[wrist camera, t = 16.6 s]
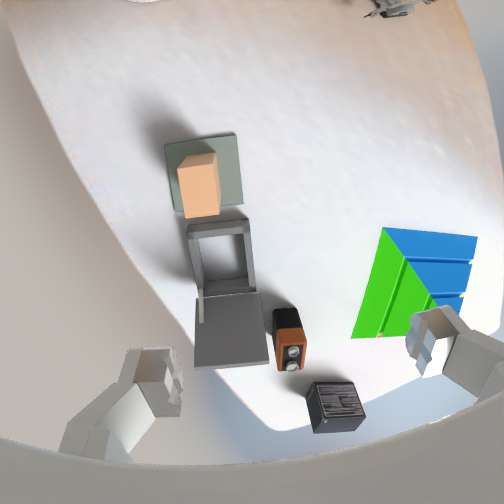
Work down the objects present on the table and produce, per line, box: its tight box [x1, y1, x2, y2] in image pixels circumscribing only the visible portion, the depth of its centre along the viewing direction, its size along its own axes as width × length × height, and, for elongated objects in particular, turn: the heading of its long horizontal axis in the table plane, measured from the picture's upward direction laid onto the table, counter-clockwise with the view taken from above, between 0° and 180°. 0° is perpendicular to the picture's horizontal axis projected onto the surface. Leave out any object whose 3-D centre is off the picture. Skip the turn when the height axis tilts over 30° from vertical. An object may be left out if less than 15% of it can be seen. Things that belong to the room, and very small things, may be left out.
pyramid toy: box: [351, 227, 478, 339], centre depth 50 cm, size 25×25×14 cm
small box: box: [305, 382, 366, 434], centre depth 63 cm, size 11×6×10 cm, turn 78°
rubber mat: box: [164, 135, 244, 212], centre depth 44 cm, size 10×10×1 cm
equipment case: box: [186, 218, 269, 370], centre depth 44 cm, size 15×10×15 cm, turn 5°
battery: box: [272, 308, 307, 373], centre depth 52 cm, size 4×7×10 cm, turn 0°
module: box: [177, 152, 221, 219], centre depth 39 cm, size 6×4×9 cm, turn 5°
